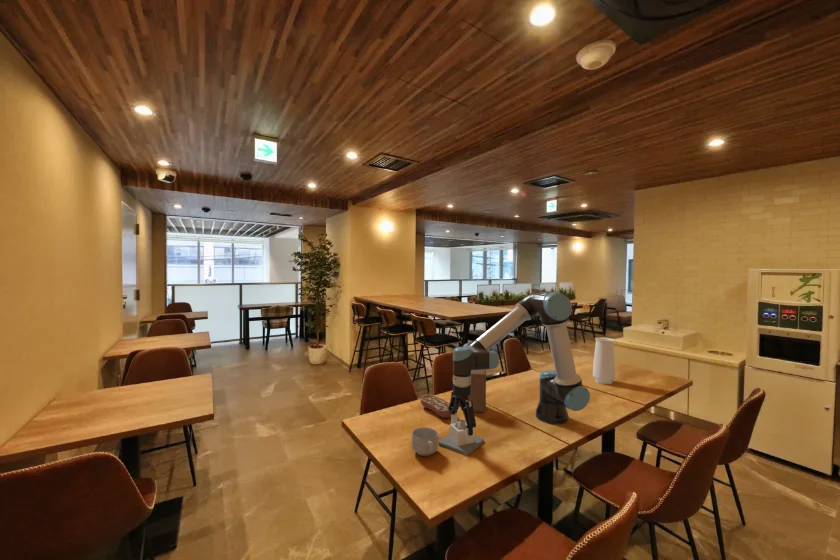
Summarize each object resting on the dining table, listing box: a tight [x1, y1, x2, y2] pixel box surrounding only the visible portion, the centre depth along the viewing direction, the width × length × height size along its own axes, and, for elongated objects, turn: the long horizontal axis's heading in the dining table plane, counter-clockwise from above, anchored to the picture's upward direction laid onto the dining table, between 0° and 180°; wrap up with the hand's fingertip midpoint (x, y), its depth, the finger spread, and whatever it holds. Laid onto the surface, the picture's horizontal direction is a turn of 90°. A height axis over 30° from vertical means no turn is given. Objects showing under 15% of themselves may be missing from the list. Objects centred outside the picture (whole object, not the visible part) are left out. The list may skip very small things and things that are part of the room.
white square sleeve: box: [449, 421, 475, 446], centre depth 147 cm, size 9×7×6 cm
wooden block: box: [468, 369, 487, 413], centre depth 183 cm, size 10×10×20 cm
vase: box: [592, 336, 616, 385], centre depth 226 cm, size 13×13×28 cm
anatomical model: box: [420, 395, 452, 419], centre depth 179 cm, size 23×10×5 cm, turn 34°
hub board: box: [438, 419, 485, 456], centre depth 147 cm, size 14×14×9 cm
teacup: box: [411, 426, 440, 457], centre depth 138 cm, size 14×11×8 cm
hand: (461, 435), depth 147 cm, fingers open, 12 cm apart
